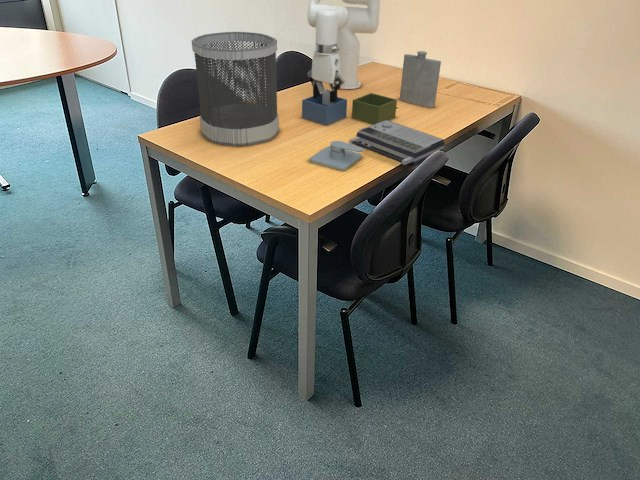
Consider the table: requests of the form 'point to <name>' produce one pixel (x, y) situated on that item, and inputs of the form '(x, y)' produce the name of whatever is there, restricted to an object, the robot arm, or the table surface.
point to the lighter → (324, 94)
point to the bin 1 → (323, 110)
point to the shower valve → (338, 155)
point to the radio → (398, 142)
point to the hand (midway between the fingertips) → (324, 98)
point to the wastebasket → (240, 118)
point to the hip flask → (419, 80)
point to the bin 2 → (374, 108)
